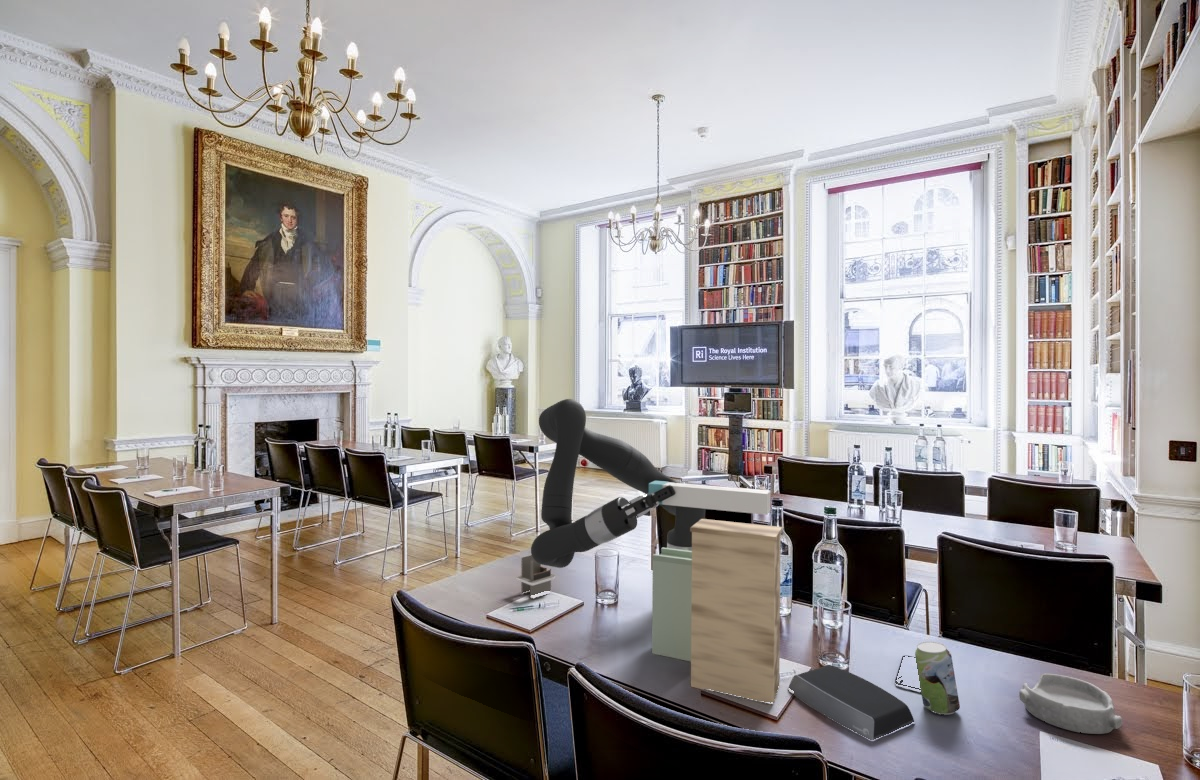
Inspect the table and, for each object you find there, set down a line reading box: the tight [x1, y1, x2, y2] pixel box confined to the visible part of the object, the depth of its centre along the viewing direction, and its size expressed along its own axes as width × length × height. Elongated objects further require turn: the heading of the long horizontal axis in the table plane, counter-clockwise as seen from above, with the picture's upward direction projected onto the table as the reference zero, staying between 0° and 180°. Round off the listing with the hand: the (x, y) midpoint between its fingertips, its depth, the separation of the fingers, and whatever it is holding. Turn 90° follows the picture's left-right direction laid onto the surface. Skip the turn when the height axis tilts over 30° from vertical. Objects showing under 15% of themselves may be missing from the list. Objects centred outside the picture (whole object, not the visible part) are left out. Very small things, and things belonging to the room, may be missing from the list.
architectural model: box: [516, 554, 556, 596], centre depth 171 cm, size 19×17×11 cm
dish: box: [1018, 673, 1123, 735], centre depth 109 cm, size 14×14×5 cm
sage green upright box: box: [651, 546, 692, 662], centre depth 134 cm, size 7×12×22 cm, turn 65°
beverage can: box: [914, 641, 961, 716], centre depth 111 cm, size 6×7×12 cm
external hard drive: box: [788, 664, 915, 740], centre depth 112 cm, size 13×19×4 cm
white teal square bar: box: [649, 481, 772, 516], centre depth 121 cm, size 4×24×4 cm, turn 65°
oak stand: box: [690, 518, 783, 703], centre depth 119 cm, size 9×17×32 cm, turn 65°
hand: (676, 487), depth 123 cm, fingers closed on white teal square bar, 4 cm apart
